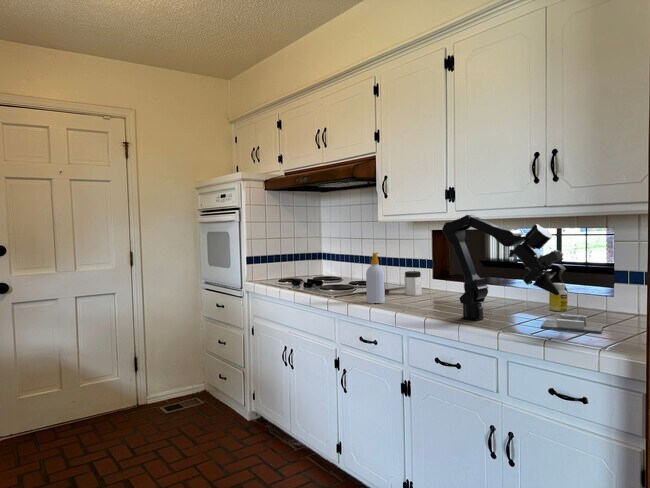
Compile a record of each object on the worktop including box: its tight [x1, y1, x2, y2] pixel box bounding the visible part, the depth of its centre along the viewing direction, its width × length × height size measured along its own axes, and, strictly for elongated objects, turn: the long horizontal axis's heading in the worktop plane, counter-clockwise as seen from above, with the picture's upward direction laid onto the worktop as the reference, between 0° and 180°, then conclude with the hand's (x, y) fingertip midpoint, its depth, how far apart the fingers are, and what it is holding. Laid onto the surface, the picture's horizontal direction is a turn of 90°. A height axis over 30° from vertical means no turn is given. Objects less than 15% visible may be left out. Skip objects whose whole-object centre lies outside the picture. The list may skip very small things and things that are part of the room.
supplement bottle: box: [548, 283, 568, 315], centre depth 154 cm, size 5×5×10 cm
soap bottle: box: [365, 252, 386, 304], centre depth 223 cm, size 9×9×24 cm
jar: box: [404, 270, 423, 297], centre depth 245 cm, size 9×8×12 cm
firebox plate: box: [540, 314, 604, 335], centre depth 161 cm, size 18×12×3 cm, turn 56°
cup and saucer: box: [384, 281, 391, 295], centre depth 251 cm, size 12×12×6 cm
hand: (562, 293), depth 153 cm, fingers closed on supplement bottle, 5 cm apart
